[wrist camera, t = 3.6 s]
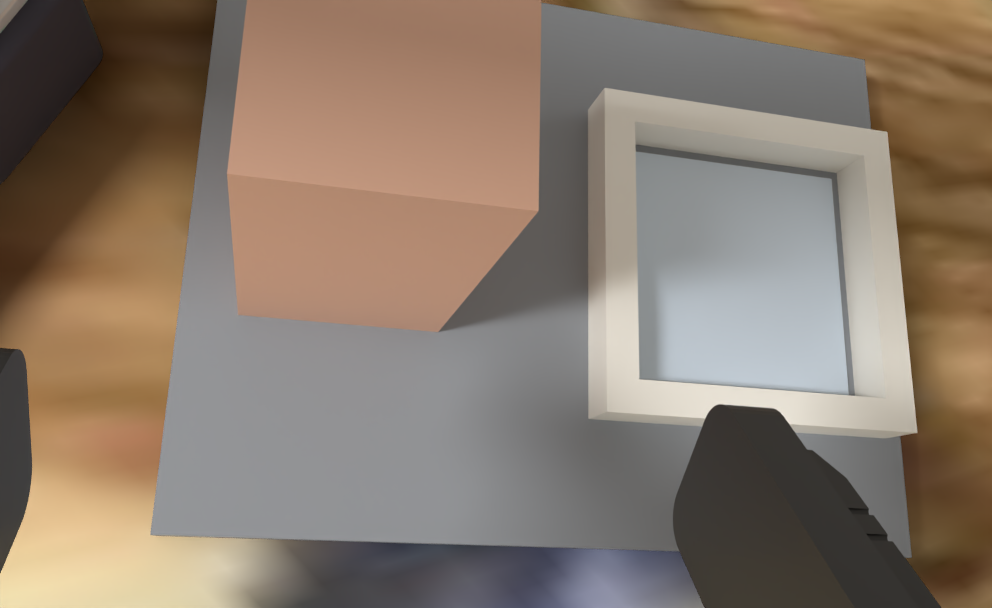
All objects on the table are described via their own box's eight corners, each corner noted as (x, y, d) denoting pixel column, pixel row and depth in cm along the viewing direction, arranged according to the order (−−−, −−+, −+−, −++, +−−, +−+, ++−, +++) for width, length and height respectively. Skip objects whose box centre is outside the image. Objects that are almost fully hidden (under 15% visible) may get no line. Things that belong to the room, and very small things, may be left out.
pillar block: (238, 314, 20) (226, 173, 12) (257, 129, 21) (258, -100, 14) (437, 331, 21) (538, 211, 14) (446, 154, 22) (541, -47, 15)
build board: (156, 535, 20) (143, 534, 17) (225, -24, 23) (222, -86, 21) (881, 557, 24) (946, 558, 21) (839, 79, 27) (891, 37, 25)
